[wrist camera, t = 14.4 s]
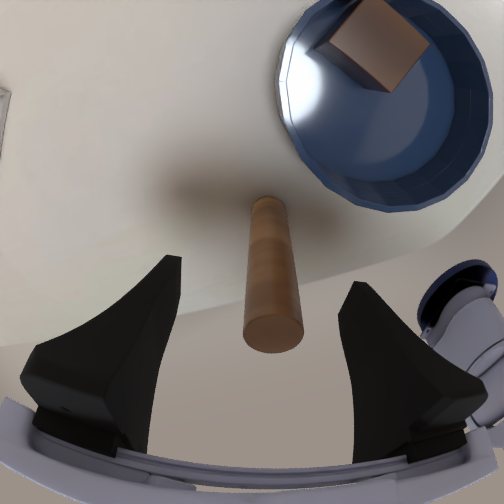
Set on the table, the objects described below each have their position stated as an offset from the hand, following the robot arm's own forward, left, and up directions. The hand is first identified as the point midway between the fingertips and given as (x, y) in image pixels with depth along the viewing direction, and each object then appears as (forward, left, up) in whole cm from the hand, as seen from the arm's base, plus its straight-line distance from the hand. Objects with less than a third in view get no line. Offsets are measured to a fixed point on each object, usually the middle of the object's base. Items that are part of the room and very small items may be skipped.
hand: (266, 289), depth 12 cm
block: (+11, -4, -9) cm, 15 cm away
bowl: (+9, -6, -9) cm, 14 cm away
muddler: (-1, 0, -9) cm, 9 cm away
